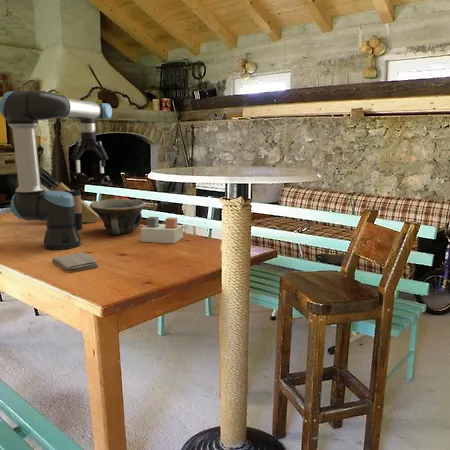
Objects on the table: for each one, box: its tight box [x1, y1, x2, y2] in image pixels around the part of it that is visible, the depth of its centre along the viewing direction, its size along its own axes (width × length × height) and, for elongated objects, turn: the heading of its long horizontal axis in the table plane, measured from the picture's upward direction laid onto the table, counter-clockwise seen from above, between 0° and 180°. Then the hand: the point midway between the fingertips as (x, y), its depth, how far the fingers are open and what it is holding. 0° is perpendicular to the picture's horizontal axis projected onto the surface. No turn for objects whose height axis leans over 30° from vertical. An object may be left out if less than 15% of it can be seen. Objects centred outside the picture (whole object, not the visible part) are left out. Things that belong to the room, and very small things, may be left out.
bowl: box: [89, 198, 147, 235], centre depth 220 cm, size 27×26×15 cm
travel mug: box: [65, 189, 83, 232], centre depth 226 cm, size 8×8×20 cm
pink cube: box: [164, 217, 178, 229], centre depth 204 cm, size 4×4×4 cm
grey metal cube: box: [146, 216, 160, 228], centre depth 206 cm, size 4×4×4 cm
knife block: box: [39, 166, 100, 224], centre depth 243 cm, size 11×35×31 cm, turn 105°
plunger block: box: [140, 223, 184, 244], centre depth 206 cm, size 12×16×6 cm
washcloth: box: [51, 252, 99, 273], centre depth 166 cm, size 12×18×3 cm, turn 39°
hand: (90, 172), depth 237 cm, fingers open, 13 cm apart
